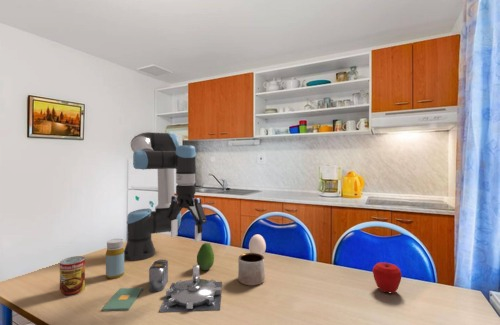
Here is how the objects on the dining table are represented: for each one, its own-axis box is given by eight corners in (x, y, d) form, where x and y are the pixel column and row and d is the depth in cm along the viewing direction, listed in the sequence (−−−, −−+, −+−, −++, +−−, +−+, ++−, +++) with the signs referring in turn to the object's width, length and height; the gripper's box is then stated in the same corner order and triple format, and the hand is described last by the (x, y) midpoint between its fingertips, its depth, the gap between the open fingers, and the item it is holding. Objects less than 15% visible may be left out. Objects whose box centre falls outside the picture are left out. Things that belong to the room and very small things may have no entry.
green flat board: (119, 289, 101) (119, 288, 101) (142, 289, 102) (142, 287, 102) (102, 310, 87) (102, 308, 87) (128, 310, 88) (128, 307, 88)
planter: (232, 280, 109) (232, 257, 109) (250, 272, 117) (250, 250, 117) (252, 289, 102) (252, 264, 102) (269, 280, 110) (269, 257, 110)
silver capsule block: (155, 278, 110) (155, 259, 110) (169, 278, 111) (169, 259, 111) (147, 292, 99) (147, 271, 99) (162, 292, 99) (162, 270, 99)
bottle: (116, 279, 109) (116, 243, 109) (102, 278, 111) (101, 242, 110) (127, 272, 116) (127, 238, 116) (113, 271, 118) (113, 237, 117)
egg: (255, 252, 142) (255, 231, 142) (268, 256, 137) (269, 234, 137) (245, 257, 135) (245, 235, 135) (259, 261, 130) (259, 238, 130)
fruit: (217, 267, 122) (217, 241, 122) (207, 274, 115) (207, 246, 115) (203, 264, 125) (203, 239, 125) (193, 271, 118) (193, 244, 118)
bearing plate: (172, 283, 106) (172, 282, 106) (222, 282, 108) (222, 280, 108) (158, 312, 86) (158, 310, 86) (220, 310, 88) (220, 308, 88)
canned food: (58, 298, 94) (57, 265, 94) (61, 289, 101) (61, 258, 101) (84, 293, 98) (83, 261, 98) (85, 284, 105) (85, 254, 105)
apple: (398, 287, 104) (399, 259, 104) (404, 299, 95) (404, 269, 95) (371, 283, 107) (371, 256, 107) (373, 294, 98) (374, 265, 98)
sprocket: (172, 282, 106) (172, 262, 106) (221, 281, 107) (221, 261, 107) (159, 310, 87) (159, 286, 86) (219, 308, 88) (219, 284, 88)
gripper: (157, 183, 108) (157, 236, 108) (202, 187, 95) (202, 246, 95) (171, 182, 114) (171, 231, 115) (216, 185, 102) (215, 240, 102)
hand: (185, 238), depth 105 cm, fingers open, 12 cm apart
